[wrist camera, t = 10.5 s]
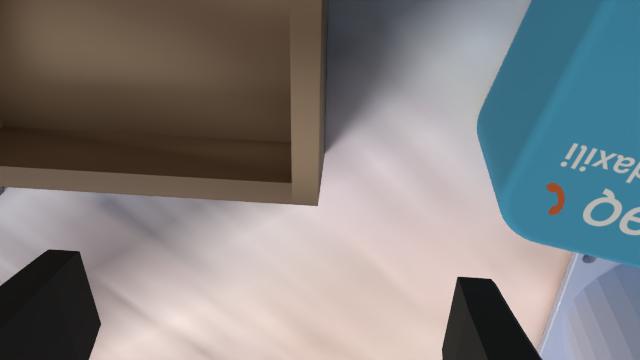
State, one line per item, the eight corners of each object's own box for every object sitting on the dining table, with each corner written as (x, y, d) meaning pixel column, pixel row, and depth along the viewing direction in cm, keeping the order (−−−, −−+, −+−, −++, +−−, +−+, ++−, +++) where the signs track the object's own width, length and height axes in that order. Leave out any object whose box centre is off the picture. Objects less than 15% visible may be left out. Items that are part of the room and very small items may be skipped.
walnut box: (324, 154, 20) (317, 206, 18) (-3, 136, 21) (-54, 183, 18) (334, -227, 14) (325, -231, 11) (-135, -237, 14) (-239, -242, 12)
